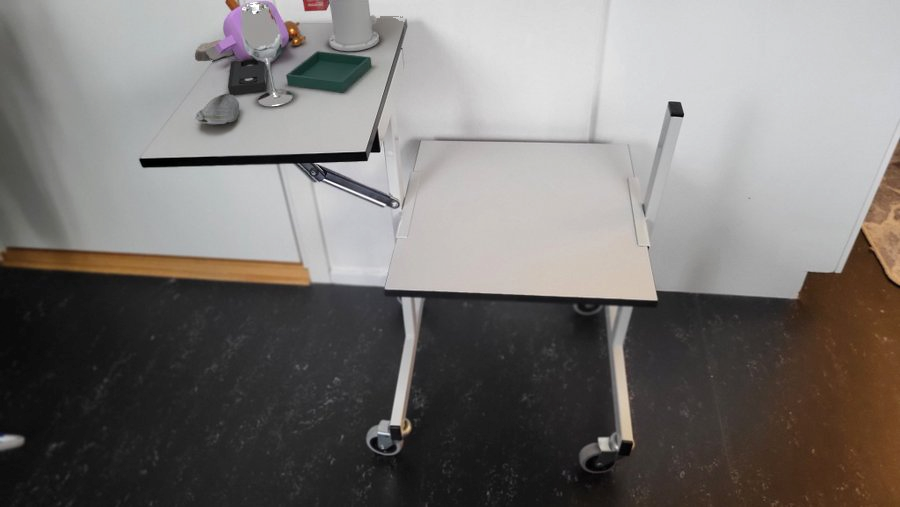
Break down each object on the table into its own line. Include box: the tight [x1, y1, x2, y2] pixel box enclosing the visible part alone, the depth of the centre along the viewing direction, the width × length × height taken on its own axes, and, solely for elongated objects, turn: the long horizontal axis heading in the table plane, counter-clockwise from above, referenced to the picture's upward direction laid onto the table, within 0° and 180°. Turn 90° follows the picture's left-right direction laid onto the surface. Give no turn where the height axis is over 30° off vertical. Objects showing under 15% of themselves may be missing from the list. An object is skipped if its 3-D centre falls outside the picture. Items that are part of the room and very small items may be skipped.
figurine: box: [284, 20, 307, 47], centre depth 171 cm, size 12×4×11 cm
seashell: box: [195, 93, 240, 125], centre depth 137 cm, size 12×8×5 cm
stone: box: [194, 39, 234, 62], centre depth 165 cm, size 12×5×4 cm, turn 131°
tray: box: [285, 50, 372, 94], centre depth 153 cm, size 14×14×2 cm
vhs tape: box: [227, 59, 268, 96], centre depth 153 cm, size 14×8×2 cm, turn 12°
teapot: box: [215, 0, 290, 61], centre depth 160 cm, size 20×12×13 cm
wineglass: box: [241, 1, 294, 108], centre depth 139 cm, size 8×8×20 cm
